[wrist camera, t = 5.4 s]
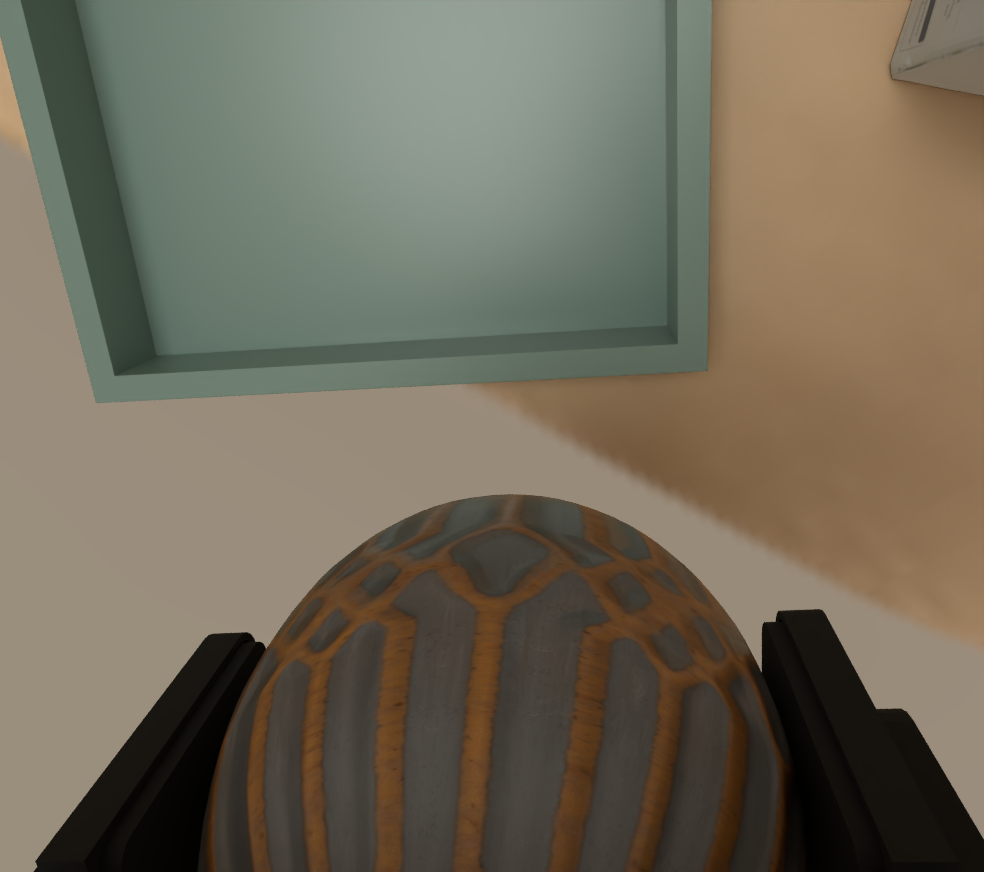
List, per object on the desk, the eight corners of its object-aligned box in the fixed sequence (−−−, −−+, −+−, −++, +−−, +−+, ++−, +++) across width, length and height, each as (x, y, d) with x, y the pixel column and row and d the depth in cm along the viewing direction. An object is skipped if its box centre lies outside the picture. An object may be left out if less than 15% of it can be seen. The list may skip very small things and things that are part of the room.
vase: (803, 704, 13) (1184, 1627, 5) (456, 833, 15) (306, 1669, 7) (613, 353, 11) (706, 867, 3) (246, 545, 13) (-302, 1195, 5)
